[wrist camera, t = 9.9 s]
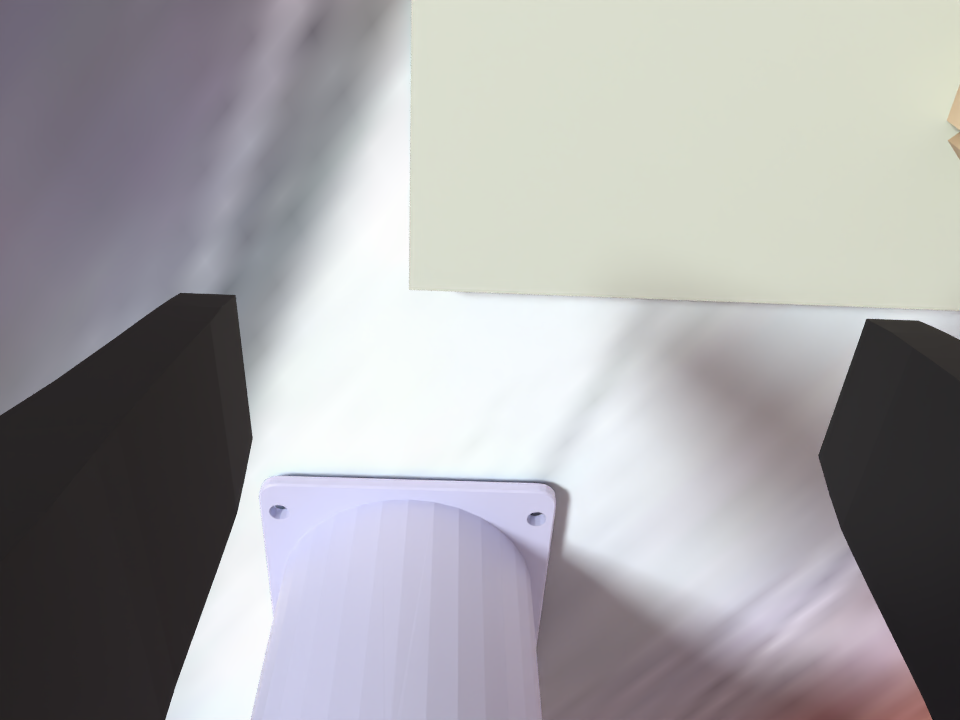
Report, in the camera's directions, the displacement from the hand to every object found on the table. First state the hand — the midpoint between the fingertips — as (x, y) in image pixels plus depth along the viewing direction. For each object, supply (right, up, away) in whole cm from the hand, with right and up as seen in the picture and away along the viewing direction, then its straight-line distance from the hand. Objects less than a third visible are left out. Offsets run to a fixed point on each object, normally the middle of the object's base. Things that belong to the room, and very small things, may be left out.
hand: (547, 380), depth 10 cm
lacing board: (+6, +6, +7) cm, 12 cm away
